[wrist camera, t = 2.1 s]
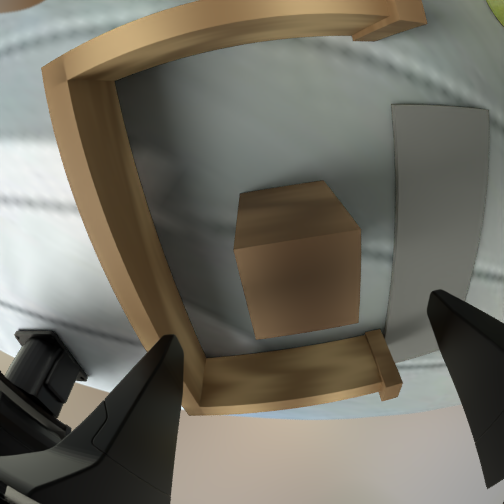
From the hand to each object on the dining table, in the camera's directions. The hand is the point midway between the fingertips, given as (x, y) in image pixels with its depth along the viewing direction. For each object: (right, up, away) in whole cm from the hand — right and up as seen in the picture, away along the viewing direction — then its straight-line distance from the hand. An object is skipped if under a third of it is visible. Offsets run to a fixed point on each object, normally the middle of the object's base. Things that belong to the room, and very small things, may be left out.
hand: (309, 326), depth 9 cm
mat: (+11, +2, +8) cm, 13 cm away
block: (0, +4, +7) cm, 8 cm away
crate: (-1, +4, +7) cm, 8 cm away
